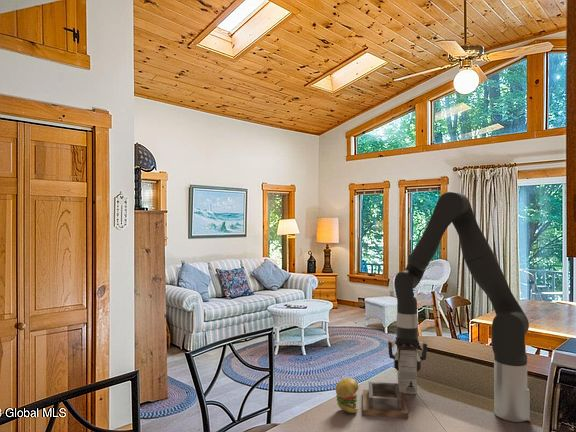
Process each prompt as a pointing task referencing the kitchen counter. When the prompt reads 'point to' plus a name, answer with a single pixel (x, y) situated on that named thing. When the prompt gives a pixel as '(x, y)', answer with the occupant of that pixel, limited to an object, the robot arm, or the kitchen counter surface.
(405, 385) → the coffee box
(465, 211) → the robot arm
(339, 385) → the hamburger
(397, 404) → the socket stand
